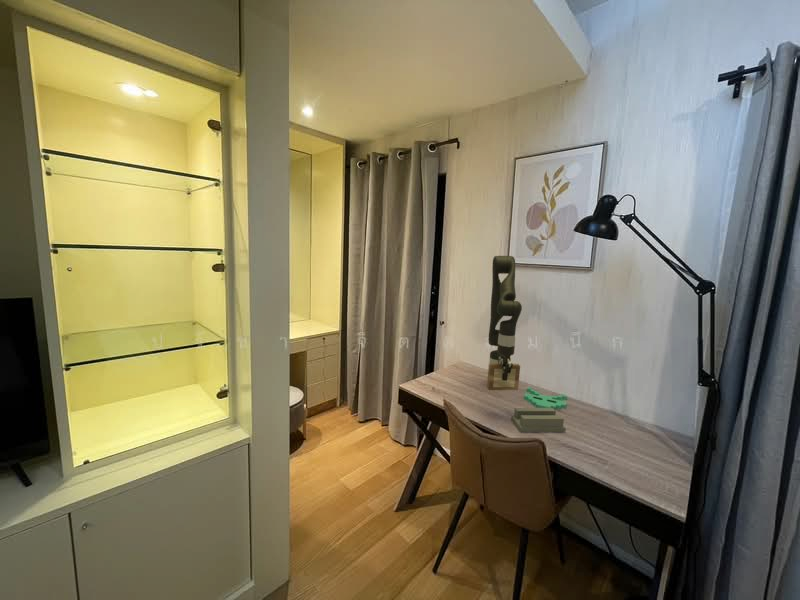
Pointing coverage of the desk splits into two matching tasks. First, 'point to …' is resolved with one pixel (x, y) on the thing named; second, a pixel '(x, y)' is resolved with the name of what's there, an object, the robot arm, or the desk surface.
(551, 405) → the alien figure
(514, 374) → the walnut frame
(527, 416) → the picture ledge
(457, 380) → the desk surface
